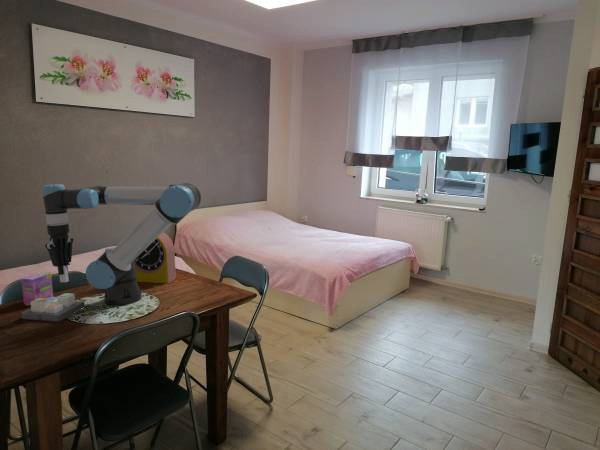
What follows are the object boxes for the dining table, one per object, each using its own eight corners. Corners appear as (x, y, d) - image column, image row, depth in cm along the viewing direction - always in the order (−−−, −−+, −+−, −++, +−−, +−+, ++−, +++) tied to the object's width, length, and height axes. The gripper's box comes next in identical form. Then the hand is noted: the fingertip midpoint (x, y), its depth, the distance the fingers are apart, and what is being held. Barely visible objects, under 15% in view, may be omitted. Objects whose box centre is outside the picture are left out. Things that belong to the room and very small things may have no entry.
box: (35, 306, 179) (32, 279, 177) (23, 305, 181) (20, 278, 178) (54, 298, 189) (51, 272, 187) (43, 297, 191) (40, 271, 189)
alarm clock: (128, 281, 214) (124, 229, 209) (138, 275, 222) (134, 225, 218) (168, 283, 210) (165, 230, 206) (176, 277, 219) (173, 227, 214)
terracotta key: (63, 313, 170) (62, 303, 169) (55, 318, 166) (54, 307, 165) (53, 313, 171) (52, 302, 170) (45, 317, 166) (44, 306, 166)
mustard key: (49, 308, 171) (48, 298, 170) (41, 312, 166) (40, 302, 166) (40, 307, 171) (38, 297, 171) (31, 311, 167) (30, 301, 166)
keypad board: (84, 307, 178) (84, 301, 178) (58, 321, 163) (58, 315, 163) (50, 305, 181) (50, 299, 180) (22, 318, 166) (21, 312, 166)
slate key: (62, 306, 178) (61, 296, 177) (55, 310, 173) (53, 300, 173) (53, 305, 178) (52, 296, 178) (45, 309, 174) (44, 299, 173)
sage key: (75, 303, 176) (74, 293, 176) (67, 307, 172) (66, 296, 171) (65, 302, 177) (64, 292, 176) (58, 306, 173) (57, 296, 172)
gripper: (61, 221, 176) (67, 276, 180) (36, 226, 163) (44, 286, 167) (77, 221, 174) (83, 277, 179) (53, 227, 162) (61, 287, 166)
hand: (64, 281), depth 173 cm, fingers closed
